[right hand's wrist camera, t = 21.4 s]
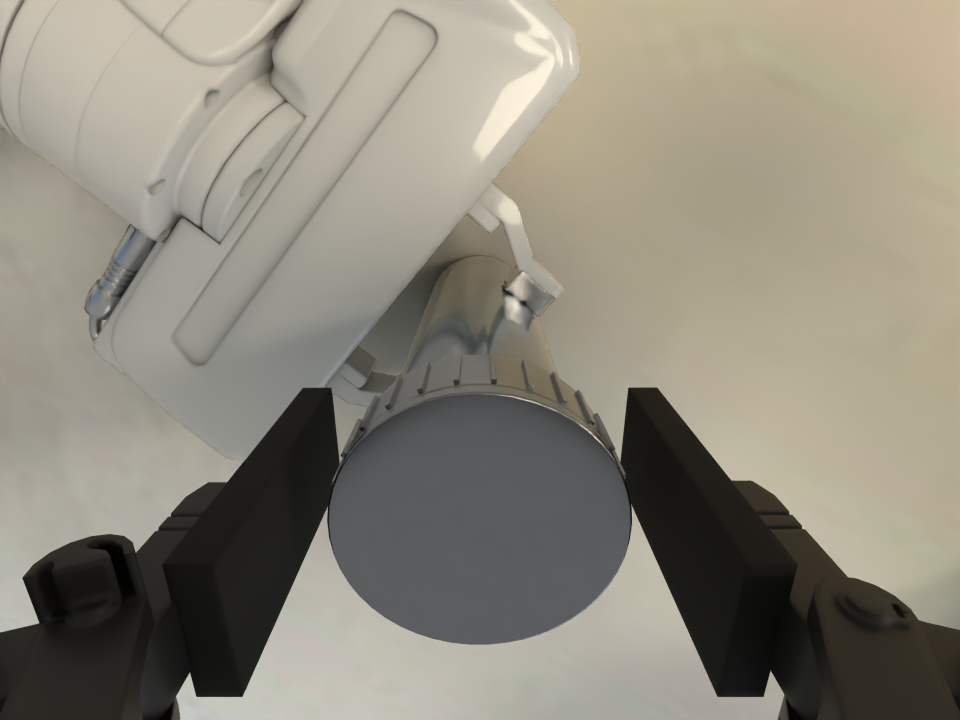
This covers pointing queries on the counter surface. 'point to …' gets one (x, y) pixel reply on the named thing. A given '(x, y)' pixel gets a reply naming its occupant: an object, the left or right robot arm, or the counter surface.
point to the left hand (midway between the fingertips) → (497, 357)
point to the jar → (477, 318)
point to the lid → (479, 502)
